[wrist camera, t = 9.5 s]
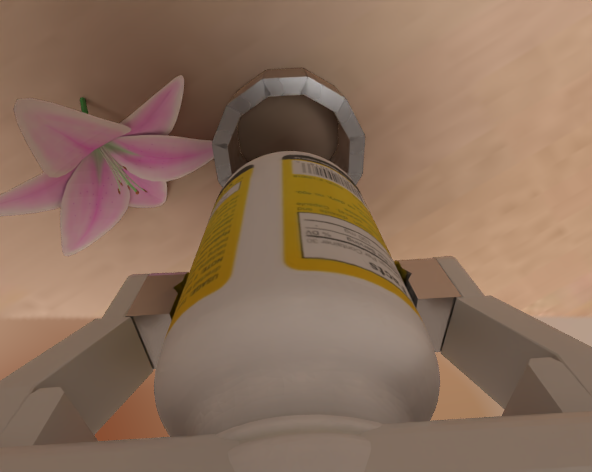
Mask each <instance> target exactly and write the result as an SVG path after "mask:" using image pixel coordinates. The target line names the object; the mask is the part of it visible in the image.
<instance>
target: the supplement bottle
mask: <svg viewBox="0 0 592 472" xmlns="http://www.w3.org/2000/svg"><path fill="white" fill-rule="evenodd" d="M439 375H440V374H439V367H438V362H437V358H436V355H435V351H434V348H433V345H432V343H431V340H430V338H429V335H428V333H427V330H426V328H425V325H424V323H423V321H422V319H421V317H420V315H419V313H418V311H417V309H416V307H415V305H414V303H413V301H412V299H411V297H410V295H409V293H408V290H407V288H406V287H405V285H404V282H403V280H402V278H401V276H400V274H399V272H398V270H397V268H396V266H395V263H394V261H393V259H392V257H391V255H390V253H389V251H388V249H387V247H386V245H385V243H384V241H383V239H382V237H381V234H380V232H379V230H378V228H377V226H376V224H375V222H374V220H373V218H372V216H371V214H370V211H369V210H368V208H367V205H366V203H365V201H364V199H363V198H362V195H361V193H360V191H359V190H358V188H357V186H356V185H355V184H354V182H353V181H352V180H351V178H350V177H349V176H348V175H347V174H346V173H345V172H344V171H343V170H342V169H340V168H339V167H338V166H337V165H335V164H334V163H332V162H330V161H328V160H326V159H325V158H322V157H320V156H317V155H314V154H310V153H306V152H299V151H282V152H275V153H270V154H267V155H264V156H261V157H258V158H256V159H254V160H252V161H250V162H248V163H246V164H245V165H244V166H242V167H241V168H240V169H238V170H237V171H236V172H235V173H234V174H233V175H232V176H231V177H230V178H229V179H228V181H227V182H226V183H225V185H224V186H223V188H222V190H221V192H220V194H219V196H218V198H217V200H216V203H215V205H214V208H213V210H212V213H211V216H210V219H209V222H208V225H207V227H206V230H205V233H204V235H203V238H202V241H201V243H200V246H199V249H198V251H197V254H196V257H195V259H194V262H193V265H192V267H191V270H190V273H189V276H188V278H187V281H186V284H185V286H184V289H183V291H182V294H181V297H180V300H179V302H178V305H177V308H176V311H175V313H174V316H173V319H172V321H171V324H170V326H169V329H168V332H167V334H166V337H165V340H164V343H163V347H162V350H161V353H160V356H159V360H158V364H157V368H156V373H155V381H154V394H155V402H156V407H157V411H158V414H159V416H160V419H161V421H162V423H163V425H164V427H165V429H166V431H167V432H168V434H169V435H170V437H177V436H193V435H209V434H216V436H218V437H220V438H224V439H231V440H236V441H239V445H237V446H236V447H234V448H232V449H231V450H229V451H228V458H229V461H230V463H231V465H232V467H233V469H234V471H235V472H364V471H365V468H366V465H367V462H368V459H369V456H370V452H371V442H370V441H369V440H368V439H366V438H364V437H362V436H361V433H363V432H366V431H369V430H372V429H376V428H379V427H381V425H383V424H388V423H403V422H419V421H430V420H431V417H432V415H433V413H434V411H435V408H436V405H437V401H438V396H439V387H440V376H439Z"/></svg>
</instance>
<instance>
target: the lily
mask: <svg viewBox="0 0 592 472" xmlns="http://www.w3.org/2000/svg"><path fill="white" fill-rule="evenodd" d="M183 92H184V78H183V76H182V75H180V76H177V77H175V78H174V79H173V80H172V81H170V82H169V83H168V84H167V85H165V86H164V87H163V88H162V89H161V90H159V91H158V92H157V93H156V94H155V95H153V96H152V97H151V98H150V99H149V100H147V101H146V102H145V103H144V104H143V105H141V106H140V107H139V108H138V109H137V110H135V111H134V112H133V113H132V114H131V115H129V116H128V117H127V118H126V119H125V120H123V121H122V122H121V123H115V122H112V121H108V120H105V119H101V118H98V117H95V116H92V115H90V114H88V110H87V105H86V100H85V98H83V97H82V98H80V103H81V109H82V112H81V111H78V110H74V109H71V108H68V107H65V106H62V105H59V104H56V103H52V102H48V101H43V100H39V99H34V98H24V99H17V101H16V103H15V106H14V113H15V116H16V120H17V124H18V126H19V128H20V130H21V132H22V134H23V136H24V138H25V140H26V142H27V144H28V146H29V148H30V150H31V151H32V153H33V155H34V157H35V158H36V160H37V162H38V163H39V165H40V167H41V168H42V170H43V171H44V173H42V174H40V175H38V176H36V177H34V178H32V179H30V180H28V181H26V182H24V183H22V184H20V185H18V186H16V187H14V188H12V189H11V190H9V191H7V192H5V193H3V194H1V195H0V216H12V215H22V214H30V213H38V212H43V211H48V210H53V209H56V208H59V207H61V211H60V227H61V242H62V252H63V254H64V256H71V255H73V254H76V253H78V252H79V251H81V250H83V249H85V248H86V247H88V246H89V245H91V244H92V243H94V242H95V241H96V240H98V239H99V238H100V237H102V236H103V235H104V234H105V233H107V232H108V231H109V230H110V229H112V228H113V227H114V226H115V225H116V224H117V223H118V222H119V221H120V220H121V218H122V217H123V215H124V213H125V212H126V210H127V209H128V206H129V207H136V208H152V207H158V206H161V205H162V204H163V203H165V201H166V198H167V184H166V181H170V180H174V179H178V178H181V177H183V176H185V175H188V174H190V173H192V172H194V171H195V170H197V169H198V168H200V167H202V166H203V165H205V164H207V163H208V162H209V161H211V160H212V159H213V158H214V154H213V149H212V141H211V140H198V139H191V138H184V137H177V136H168V135H169V133H170V132H171V131H172V129H173V127H174V125H175V122H176V120H177V117H178V113H179V110H180V107H181V102H182V97H183Z"/></svg>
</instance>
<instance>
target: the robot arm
mask: <svg viewBox="0 0 592 472" xmlns="http://www.w3.org/2000/svg"><path fill="white" fill-rule="evenodd" d="M394 263H395V266H396V268H397V270H398V272H399V274H400V276H401V278H402V280H403V282H404V285H405V287H406V288H407V290H408V293H409V295H410V297H411V299H412V301H413V303H414V305H415V307H416V309H417V311H418V313H419V315H420V317H421V319H422V321H423V323H424V325H425V328H426V330H427V333H428V335H429V338H430V340H431V343H432V345H433V348H434V351H435V352H441V354H442V355H443V356H444V357H445V358H447V359H448V360H449V361H450V362H451V363H452V364H454V365H455V366H456V367H457V368H458V369H459V370H460V371H461V372H463V373H464V374H465V375H466V376H467V377H468V378H470V379H471V380H472V381H473V382H474V383H475V384H476V385H478V386H479V387H480V388H481V389H482V390H483V391H484V392H485V393H487V394H488V395H489V396H490V397H491V398H492V399H493V400H495V401H496V402H497V403H498V404H499V405H500V406H501V407H503V408H504V409H505V410H504V412H503V414H502V416H498V417H484V418H466V419H451V420H435V421H419V422H403V423H388V424H383V425H381V427H379V428H376V429H372V430H369V431H366V432H363V433H361V436H362V437H364V438H366V439H368V440H369V441H370V442H371V452H370V456H369V459H368V462H367V465H366V468H365V471H364V472H592V347H591V346H589V345H587V344H585V343H583V342H581V341H579V340H577V339H575V338H573V337H571V336H569V335H567V334H565V333H563V332H561V331H559V330H557V329H555V328H553V327H551V326H549V325H547V324H546V323H544V322H541V321H540V320H538V319H536V318H534V317H532V316H530V315H528V314H526V313H524V312H522V311H520V310H518V309H516V308H514V307H512V306H510V305H508V304H506V303H504V302H502V301H500V300H499V299H497V298H495V297H493V296H485V295H484V294H483V293H482V292H481V290H480V289H479V288H478V286H477V285H476V284H475V283H474V281H473V280H472V279H471V277H470V276H469V275H468V274H467V272H466V271H465V270H464V269H463V267H462V266H461V265H460V263H459V262H458V261H457V260H456V258H454V257H452V256H444V257H433V258H427V259H411V260H395V261H394ZM188 276H189V272H178V273H152V274H133V275H131V276H129V277H128V278H127V279H126V281H125V282H124V284H123V285H122V287H121V289H120V290H119V292H118V293H117V295H116V296H115V298H114V300H113V301H112V303H111V304H110V306H109V308H108V309H107V311H106V312H105V314H104V315H103V317H102V319H94V320H93V321H92V322H90V323H88V324H87V325H86V326H84V327H82V328H81V329H79V330H78V331H76V332H74V333H73V334H72V335H70V336H69V337H67V338H65V339H64V340H62V341H61V342H59V343H58V344H56V345H54V346H53V347H52V348H50V349H48V350H47V351H45V352H44V353H42V354H41V355H39V356H38V357H36V358H35V359H33V360H32V361H30V362H28V363H27V364H25V365H24V366H22V367H21V368H19V369H18V370H16V371H15V372H13V373H11V374H10V375H9V376H7V377H6V378H4V379H2V380H1V381H0V472H235V471H234V469H233V467H232V465H231V463H230V461H229V458H228V451H229V450H231V449H232V448H234V447H236V446H237V445H239V441H236V440H231V439H224V438H220V437H218V436H216V434H209V435H193V436H177V437H161V438H145V439H130V440H113V441H97V439H96V437H95V436H94V435H95V433H97V431H98V430H99V429H100V428H101V427H102V426H103V425H104V424H105V423H106V422H107V420H109V418H110V417H111V416H112V415H113V414H114V413H115V412H116V411H117V410H118V409H119V408H120V406H122V404H123V403H124V402H125V401H126V400H127V399H128V398H129V397H130V396H131V395H132V394H133V393H134V391H135V390H136V389H137V388H138V387H139V386H140V385H141V384H142V383H143V382H144V381H145V379H147V377H148V376H149V375H150V374H151V373H152V372H153V369H156V368H157V364H158V360H159V356H160V353H161V350H162V347H163V343H164V340H165V337H166V334H167V332H168V329H169V326H170V324H171V321H172V319H173V316H174V313H175V311H176V308H177V305H178V302H179V300H180V297H181V294H182V291H183V289H184V286H185V284H186V281H187V278H188Z"/></svg>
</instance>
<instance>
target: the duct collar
mask: <svg viewBox="0 0 592 472" xmlns="http://www.w3.org/2000/svg"><path fill="white" fill-rule="evenodd" d="M286 95H305V96H307V97H309V98H311V99H313V100H314V101H316V102H318V103H320V104H322V105H323V106H325V107H327V108H329V109H331V110H332V111H333V113H334V115H335V116H336V118H337V120H338V140H337V149H336V151H335V152H334V154H333V156H332V157H331V159H330V162H332V163H334V164H335V165H337V166H338V167H339V168H340V169H342V170H343V171H344V172H345V173H346V174H347V175H348V176H349V177H350V178H351V180H352V181H353V182H354V184H355V185H356V184H357V182H358V181H359V179H360V178H361V176H362V174H363V162H364V147H365V134H364V132H363V130H362V128H361V126H360V124H359V123H358V121H357V119H356V117H355V115H354V113H353V111H352V109H351V107H350V105H349V103H348V101H347V99H346V98H345V97H344V96H343V95H342V94H341V93H340V92H339V91H338V90H337V89H336V88H335V87H334V85H332V84H330V83H328V82H327V81H325V80H323V79H322V78H320V77H318V76H316V75H315V74H313V73H311V72H309V71H308V70H306V69H304V68H286V69H267V71H266V70H265V71H264V72H262V73H261V74H260V75H258V76H257V77H256V78H254V79H253V80H251V81H250V82H249V83H247V84H246V85H245V86H243V87H242V88H241V89H239V90H238V91H237V92H236V94H235V95H234V96H233V98H232V99H231V100H230V101H229V103H228V104H227V105H226V108H225V111H224V113H223V116H222V118H221V121H220V123H219V126H218V129H217V131H216V134H215V136H214V139H213V141H212V149H213V154H214V160H215V166H216V171H217V177H218V182H219V184H220V185H221V186H222V187H223V186H224V185H225V183H226V182H227V181H228V179H229V178H230V177H231V176H232V175H233V174H234V173H235V172H236V171H237V170H238V169H240V168H241V167H242V166H244V165H245V164H246V163H248V162H247V160H246V159H245V158H244V156H243V155H242V154H241V150H240V143H239V135H238V128H237V126H238V123H239V121H240V119H241V116H242V115H243V114H244V113H246V112H247V111H249V110H250V109H251V108H253V107H254V106H256V105H257V104H258V103H260V102H261V101H263V100H264V99H265V98H267V97H268V96H286Z"/></svg>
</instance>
